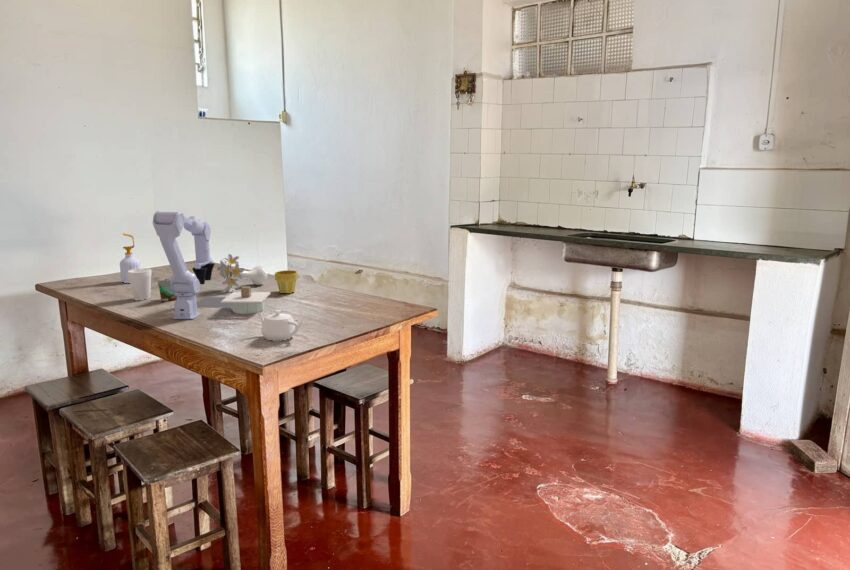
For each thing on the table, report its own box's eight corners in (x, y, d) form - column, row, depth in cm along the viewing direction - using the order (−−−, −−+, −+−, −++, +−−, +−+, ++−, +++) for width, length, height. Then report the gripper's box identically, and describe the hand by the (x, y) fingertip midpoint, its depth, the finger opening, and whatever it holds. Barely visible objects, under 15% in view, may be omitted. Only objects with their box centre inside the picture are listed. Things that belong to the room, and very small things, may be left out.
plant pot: (274, 290, 293) (273, 270, 291) (296, 289, 296) (295, 269, 294) (276, 295, 284) (275, 275, 281) (299, 294, 287) (298, 273, 284)
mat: (231, 308, 262) (231, 307, 262) (189, 308, 262) (189, 307, 262) (244, 298, 279) (243, 297, 279) (204, 298, 279) (204, 297, 279)
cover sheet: (260, 302, 249) (260, 291, 248) (221, 302, 249) (220, 291, 248) (270, 293, 264) (270, 283, 263) (233, 293, 264) (232, 283, 263)
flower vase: (255, 296, 310) (212, 293, 290) (256, 260, 312) (213, 254, 292) (272, 295, 303) (229, 291, 282) (273, 258, 304) (231, 251, 284)
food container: (172, 303, 269) (170, 281, 267) (159, 303, 270) (157, 280, 268) (188, 297, 281) (186, 275, 278) (175, 296, 282) (174, 275, 280)
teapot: (245, 337, 223) (244, 309, 220) (271, 328, 233) (269, 302, 231) (286, 346, 212) (284, 318, 210) (311, 337, 222) (310, 310, 220)
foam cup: (126, 299, 275) (123, 271, 272) (144, 295, 283) (141, 267, 280) (140, 302, 271) (137, 273, 268) (158, 297, 279) (155, 269, 276)
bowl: (259, 315, 251) (258, 302, 250) (227, 315, 251) (226, 301, 250) (267, 306, 264) (266, 294, 263) (237, 306, 264) (236, 294, 263)
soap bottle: (121, 281, 313) (116, 232, 308) (141, 279, 317) (136, 231, 312) (121, 284, 306) (116, 235, 300) (141, 282, 309) (136, 234, 304)
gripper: (206, 253, 253) (208, 286, 256) (217, 247, 267) (219, 278, 270) (188, 253, 253) (191, 285, 256) (201, 247, 267) (203, 278, 270)
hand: (204, 282), depth 263 cm, fingers open, 7 cm apart
